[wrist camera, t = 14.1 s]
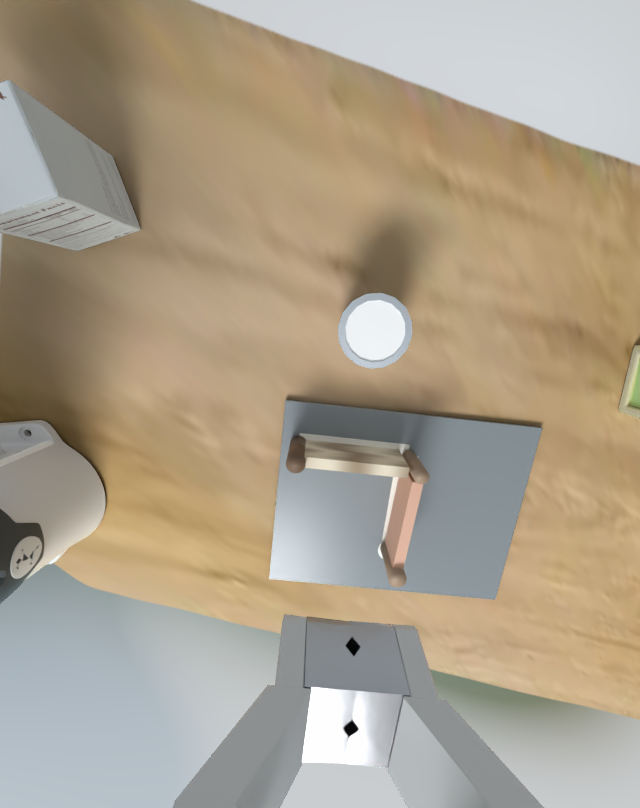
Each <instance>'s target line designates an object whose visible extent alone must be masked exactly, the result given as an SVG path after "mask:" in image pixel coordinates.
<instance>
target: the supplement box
mask: <svg viewBox="0 0 640 808" xmlns="http://www.w3.org/2000/svg"><path fill="white" fill-rule="evenodd" d="M140 230H141V229H140V226H139V223H138V221H137V218H136V215H135V213H134V210H133V207H132V205H131V202H130V200H129V197H128V195H127V192H126V189H125V187H124V184H123V182H122V179H121V177H120V174H119V171H118V169H117V166H116V164H115V161H114V159H113V156H112V155H110V154H109V153H108V152H106V151H105V150H104V149H102V148H101V147H99V146H98V145H97V144H95V143H94V142H93V141H91V140H90V139H89V138H87V137H86V136H85V135H83V134H82V133H81V132H79V131H78V130H77V129H75V128H74V127H73V126H71V125H70V124H68V123H67V122H66V121H64V120H63V119H62V118H60V117H59V116H58V115H56V114H55V113H54V112H52V111H51V110H50V109H48V108H47V107H46V106H44V105H43V104H41V103H40V102H39V101H37V100H36V99H35V98H33V97H32V96H31V95H29V94H28V93H27V92H25V91H24V90H23V89H21V88H20V87H18V86H17V85H16V84H14V83H13V82H12V81H10V80H5V81H3V82H1V83H0V233H5V234H9V235H13V236H17V237H21V238H26V239H30V240H34V241H38V242H42V243H46V244H50V245H54V246H58V247H62V248H66V249H70V250H74V251H80V250H83V249H86V248H89V247H92V246H95V245H98V244H101V243H104V242H107V241H110V240H113V239H116V238H119V237H122V236H125V235H128V234H131V233H134V232H137V231H140Z"/></svg>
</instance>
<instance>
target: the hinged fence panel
mask: <svg viewBox="0 0 640 808" xmlns="http://www.w3.org/2000/svg"><path fill="white" fill-rule="evenodd" d="M402 456H403V457H404V459H405V461H406V462H407V464H408V466H409V468H410V469H409V474H408V478H398V483H397V487H396V492H395V497H394V501H393V506H392V510H391V515H390V520H389V524H388V529H387V533H386V538H385V542H383V543H382V544H381V546H380V549H381V553H382V557H383V561H384V565H385V569H386V572H387V576H388V580H389V583H390V585H391V586H393V587H402V586H403V585H405V583H406V581H407V577H406V574H405V571H404V564H405V560H406V556H407V551H408V547H409V543H410V539H411V535H412V530H413V526H414V522H415V518H416V513H417V509H418V505H419V501H420V497H421V492H422V488H423V484H425V483H427V482H428V480H429V478H430V475H429V473H428V472H427V470H426V469H425V467H424V466H423V464H422V463H421V461H420V460H419V458H418V457H417V455H416V454H415V452H414V451H412V450H405V451H404V452H403V453H402Z"/></svg>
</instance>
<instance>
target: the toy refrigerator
mask: <svg viewBox="0 0 640 808" xmlns="http://www.w3.org/2000/svg"><path fill="white" fill-rule="evenodd" d="M619 412H621V413H623V414H626V415H630V416H633V417H636V418H639V419H640V345H635V346H634V348H633V351H632V355H631V360H630V363H629V368H628V372H627V376H626V380H625V384H624V389H623V393H622V396H621V400H620V404H619Z"/></svg>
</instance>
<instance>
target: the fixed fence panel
mask: <svg viewBox="0 0 640 808" xmlns="http://www.w3.org/2000/svg"><path fill="white" fill-rule="evenodd" d="M286 467H287V469H288V470H289V471H290V472H292V473H300V472H302V471H303V470H304V468H311V469H321V470H331V471H341V472H350V473H360V474H370V475H380V476H390V477H399V478H408V474H409V469H410V468H409V466H408V464H407V462H406V461H405V459H404V457H403V456H402V454H401V452H400V450H399V449H391V448H381V447H372V446H362V445H353V444H343V443H334V442H324V441H314V440H306V439H305V438H304V437H302V436H299V435H298V436H295V437H293V438H292V439H291V441H290V446H289V451H288V455H287V460H286Z"/></svg>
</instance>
